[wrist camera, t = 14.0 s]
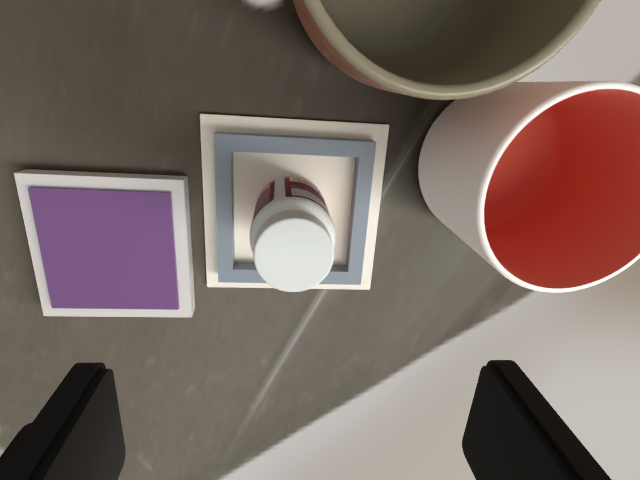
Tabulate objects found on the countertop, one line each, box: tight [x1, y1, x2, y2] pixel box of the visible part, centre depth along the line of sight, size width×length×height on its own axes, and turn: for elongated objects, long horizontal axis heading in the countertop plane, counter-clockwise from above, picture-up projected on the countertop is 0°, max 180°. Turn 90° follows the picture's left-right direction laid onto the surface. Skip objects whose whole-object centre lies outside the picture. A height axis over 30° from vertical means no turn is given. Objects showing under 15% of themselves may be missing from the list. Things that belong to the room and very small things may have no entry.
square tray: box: [200, 114, 389, 290], centre depth 27 cm, size 12×12×2 cm
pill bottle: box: [249, 175, 335, 292], centre depth 24 cm, size 5×5×8 cm
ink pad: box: [14, 169, 195, 317], centre depth 27 cm, size 10×10×2 cm
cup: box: [418, 81, 640, 292], centre depth 23 cm, size 10×10×10 cm
